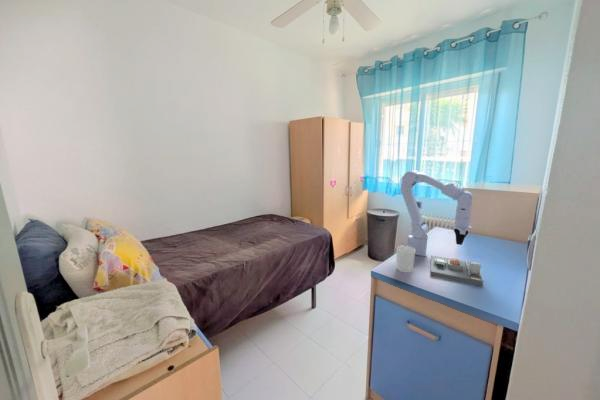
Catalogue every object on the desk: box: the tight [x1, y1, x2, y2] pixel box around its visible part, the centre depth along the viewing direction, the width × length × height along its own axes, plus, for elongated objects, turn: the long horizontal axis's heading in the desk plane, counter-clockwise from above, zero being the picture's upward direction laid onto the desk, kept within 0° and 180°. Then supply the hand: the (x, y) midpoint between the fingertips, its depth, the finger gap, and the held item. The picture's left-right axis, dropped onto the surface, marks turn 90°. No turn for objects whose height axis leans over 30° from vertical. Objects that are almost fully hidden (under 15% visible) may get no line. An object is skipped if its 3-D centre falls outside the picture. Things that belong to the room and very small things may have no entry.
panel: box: [429, 255, 484, 287], centre depth 110 cm, size 19×18×4 cm
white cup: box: [395, 245, 416, 274], centre depth 112 cm, size 8×8×10 cm
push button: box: [450, 258, 459, 265], centre depth 110 cm, size 3×3×3 cm
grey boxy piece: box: [469, 261, 482, 275], centre depth 103 cm, size 4×2×5 cm, turn 62°
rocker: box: [436, 258, 445, 265], centre depth 112 cm, size 3×6×1 cm, turn 152°
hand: (458, 244), depth 117 cm, fingers closed
